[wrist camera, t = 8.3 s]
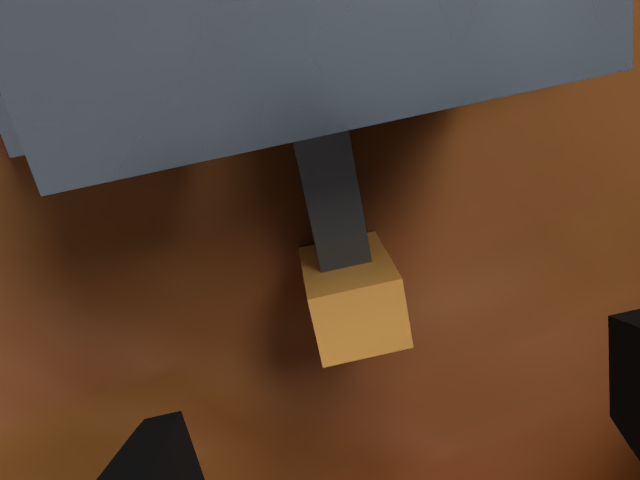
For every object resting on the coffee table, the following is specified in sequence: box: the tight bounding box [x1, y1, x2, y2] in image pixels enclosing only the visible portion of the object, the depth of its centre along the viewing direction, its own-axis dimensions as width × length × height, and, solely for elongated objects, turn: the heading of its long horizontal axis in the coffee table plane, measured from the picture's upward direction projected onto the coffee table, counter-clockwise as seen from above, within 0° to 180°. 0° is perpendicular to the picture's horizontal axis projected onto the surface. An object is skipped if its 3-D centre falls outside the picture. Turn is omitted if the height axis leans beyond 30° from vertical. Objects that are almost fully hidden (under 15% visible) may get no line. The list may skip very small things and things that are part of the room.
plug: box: [292, 130, 413, 368], centre depth 12 cm, size 17×3×5 cm, turn 11°
